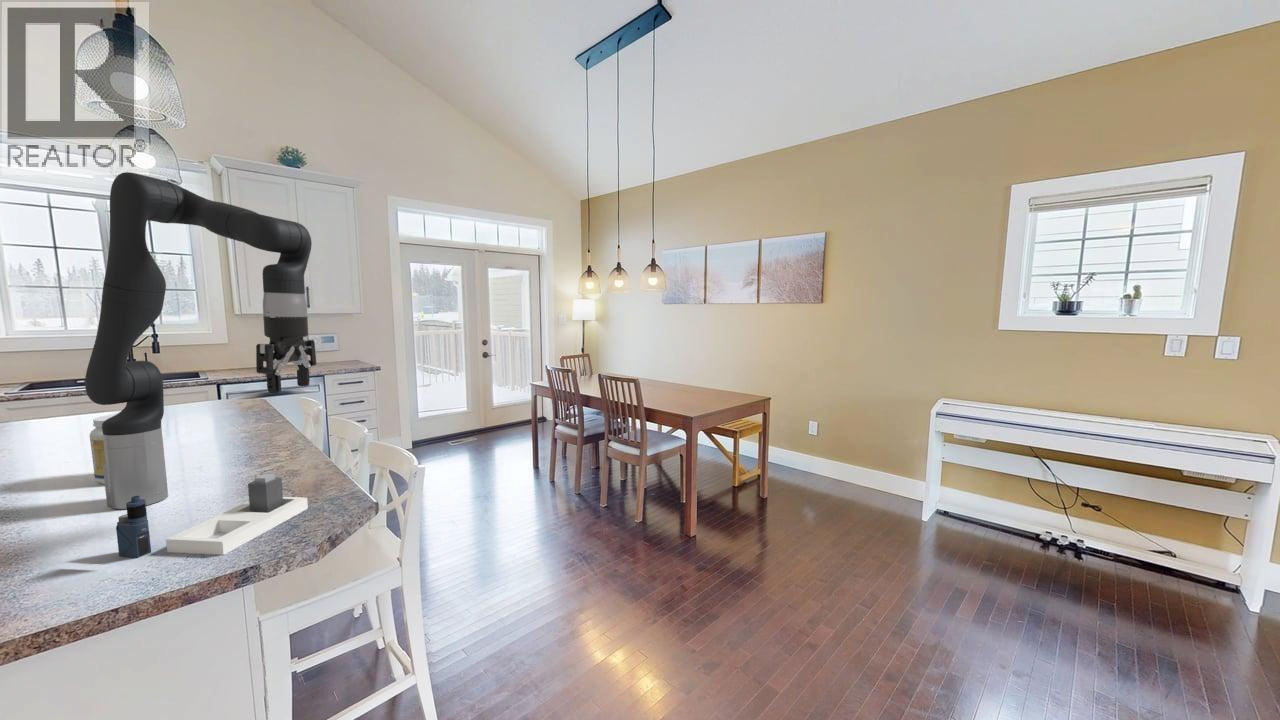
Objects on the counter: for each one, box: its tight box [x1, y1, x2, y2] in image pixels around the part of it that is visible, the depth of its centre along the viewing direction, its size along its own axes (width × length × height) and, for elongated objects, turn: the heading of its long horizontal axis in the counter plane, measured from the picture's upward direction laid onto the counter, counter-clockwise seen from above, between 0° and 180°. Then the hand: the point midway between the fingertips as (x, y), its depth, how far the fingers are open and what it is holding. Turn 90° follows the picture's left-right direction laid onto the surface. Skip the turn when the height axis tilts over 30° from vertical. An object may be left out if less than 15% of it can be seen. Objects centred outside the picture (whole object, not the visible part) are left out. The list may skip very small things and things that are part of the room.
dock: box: [165, 496, 309, 556], centre depth 95 cm, size 20×11×4 cm, turn 177°
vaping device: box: [115, 496, 152, 559], centre depth 84 cm, size 3×5×12 cm, turn 79°
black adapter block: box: [247, 473, 284, 513], centre depth 100 cm, size 4×4×9 cm
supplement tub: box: [89, 413, 117, 485], centre depth 123 cm, size 12×12×17 cm
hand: (289, 389), depth 100 cm, fingers open, 8 cm apart
